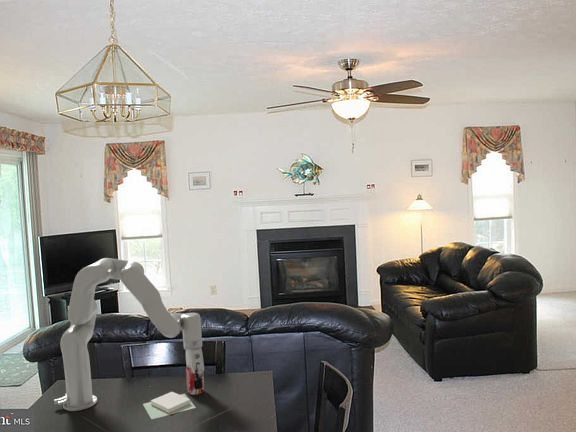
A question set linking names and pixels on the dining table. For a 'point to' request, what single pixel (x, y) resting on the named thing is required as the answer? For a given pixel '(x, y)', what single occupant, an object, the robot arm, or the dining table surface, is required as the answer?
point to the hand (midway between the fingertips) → (195, 384)
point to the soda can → (190, 382)
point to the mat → (158, 413)
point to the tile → (170, 402)
